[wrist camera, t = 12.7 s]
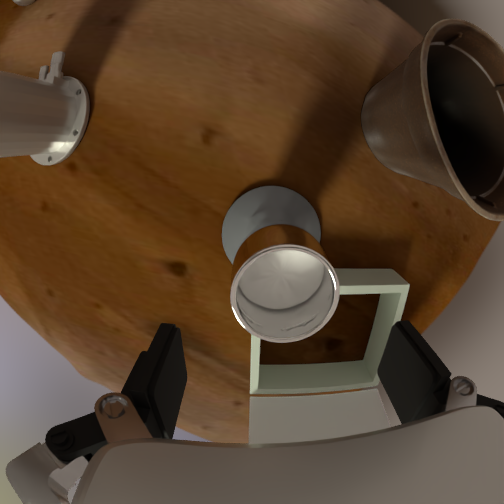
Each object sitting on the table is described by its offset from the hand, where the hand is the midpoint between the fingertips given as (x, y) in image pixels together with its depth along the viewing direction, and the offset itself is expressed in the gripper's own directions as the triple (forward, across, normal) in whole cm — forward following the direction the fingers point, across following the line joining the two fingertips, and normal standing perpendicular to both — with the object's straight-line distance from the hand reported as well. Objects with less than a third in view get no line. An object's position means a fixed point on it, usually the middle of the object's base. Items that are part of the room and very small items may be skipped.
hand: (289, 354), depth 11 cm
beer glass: (+20, -1, 0) cm, 20 cm away
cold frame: (+21, -8, +12) cm, 25 cm away
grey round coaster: (+21, -1, 0) cm, 21 cm away
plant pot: (+21, -17, -14) cm, 30 cm away
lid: (+7, -7, +21) cm, 24 cm away
